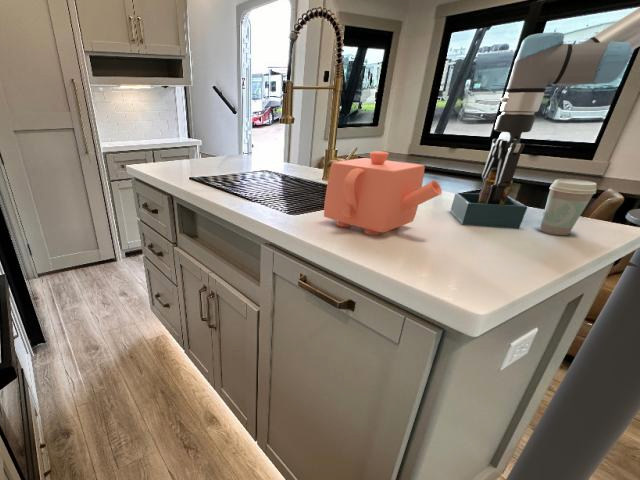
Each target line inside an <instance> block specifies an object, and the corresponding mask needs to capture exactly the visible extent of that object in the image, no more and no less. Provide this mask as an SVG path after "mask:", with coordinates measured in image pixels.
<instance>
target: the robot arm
mask: <svg viewBox="0 0 640 480" xmlns="http://www.w3.org/2000/svg"><path fill="white" fill-rule="evenodd" d="M564 40H565V34H564V33H563V32H559V31H558V32H541V33H534V34H530V35H528V36H527V37H525V38H524V39H523V40H522V42H521V44H520V47H519V49H518V52H517V54H516V55H517V56H516V58H515V60H514V64H513V67H512V71H511V73H510V77H509V80H508V83H507V87H506V90H505V94H504V96H503V97H502V98H500V103H501V106H500V110H499V111H500V112H501V114H499V115H497V119H496V122H495V125H494V128H493V130H494V131H495V132H498V133H499V132H500V134H499V136H498V138H493V139H492V143H491V146H490V147H491V148H490V150H489V153H488V157H487V160H486V162H485V164H484V167H483V171H482V174H481V179H482V185H481V187H480V190H479V193H478V194H479V197H478V200H477V203H478V201H479V198H480V195H481V192H482V188H483V185H484V182H485V180H486V179H487V178H488V177H489V176H488V175H489V173H490V170H491V168H495V167H498V169H497V174H496V179H495V183H494V185H491V191H490V194H489V197H488V200H487V203H486V204H497V205H499V203H500V200H501V197H502V194H503V192H504V189H505V188H506V187H510V185H511V182H512V183H513V179H514V176H515V172H516V169H517V167H518V162H519V160H520V158H521V155H522V153H523V150H524V148H525V143H523V142H522V143H521V137H522V134H523V133H529V132H531V131H532V128H533V126H534V123H535V120H536V117H537V116H536V115H535V113H537V112H539V111H540V107H541V104H542V101H543V99H544V96H545V91H546V89H547V87H548V85H551V86H553V87H557V88H566V87H569V86H577V85H578V86H579V85H600V84H611V83H613V82H614V81H616V80H618V78H620V76H621V74H622V73H623V72H624V70H625V68H626V66H627V65H628V62H629V61H630V57H631V54H632V51H634V50H635V49H637V48H639V47H640V7H638V8H636V9H635V10H633V11H632V12H629V13H628V14H626V15H625V16H624V17H622V18H620V19H618V20H616V21H614V22H613V23H612V24H610V25H609V26H607V27H605V28H604V29H601V30H600V31H599V32H597V33H595V34H594V35H593V36H591V37H590V38H588V39H586V40H585V41H583V42H581V43H564V42H565V41H564ZM503 181H504V182H503Z"/></svg>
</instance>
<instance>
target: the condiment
mask: <svg viewBox="0 0 640 480" xmlns="http://www.w3.org/2000/svg"><path fill="white" fill-rule="evenodd" d="M497 169H498V167H495V168H491V170H490V173H489V175H488V176H489V177H488V178H487V179H486V180H485V182H484V185H483V184H482V185H483V188H482V187H481V188H482V192H481V195H480V198H479V201H478V203H480V204H486V203H487V200H488V197H489V194H490V191H491V185H494V183H495V179H496V174H497ZM503 182H504V181H503ZM512 186H513V181H512V182H511V185H510V187H506V188H505V189H504V192H503V194H502V197H501V200H500V203H499V205H505V202H506V199H507V196H509V193H510V190H511V188H512Z"/></svg>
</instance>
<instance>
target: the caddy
mask: <svg viewBox="0 0 640 480" xmlns="http://www.w3.org/2000/svg"><path fill="white" fill-rule="evenodd" d="M479 194H480V193H472V192H455V193H454V197H453V200H452V204H451V207H450V211H449V212H450V214H452V216H454V218H455V219H456V220H457V221H458V222H459V223H460V224H461V225H462V226H476V227H490V228H504V229H519V230H520V228H521V225H522V223H523V220H524V217H525V214H526V212H527V210H528V205H525V204H524V203H522V202H520V201H518V200H517V199H516V198H513V197H512V196H510V195H508V196H507V199H506V202H505V205H497V204H480V203H477V200H478V197H479Z"/></svg>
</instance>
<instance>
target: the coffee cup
mask: <svg viewBox="0 0 640 480" xmlns="http://www.w3.org/2000/svg"><path fill="white" fill-rule="evenodd" d="M548 189H549V192H548V195H547V198H546V199H547V200H546V202H545V203H546V204H545V208H544V211H543V214H542V218H541V222H540V225H539V231H540V232H542V233H545V234H550V235H555V236H568V235H569V234H570V233H571V231H572V230H573V228H574V226H575V225H576V223H577V221H578V220H579V218H580V217H581V215H582V213H583V212H584V211H585V209H586V207H587V206H588V204H589V202H590V201H591V199H592V197H593V196H594V195H595V194H597V183H596V182H594V181H589V180H583V179H582V180H581V179H574V178H557V179H555V180H554V181H553V183H551V184H550V187H549V188H548Z"/></svg>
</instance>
